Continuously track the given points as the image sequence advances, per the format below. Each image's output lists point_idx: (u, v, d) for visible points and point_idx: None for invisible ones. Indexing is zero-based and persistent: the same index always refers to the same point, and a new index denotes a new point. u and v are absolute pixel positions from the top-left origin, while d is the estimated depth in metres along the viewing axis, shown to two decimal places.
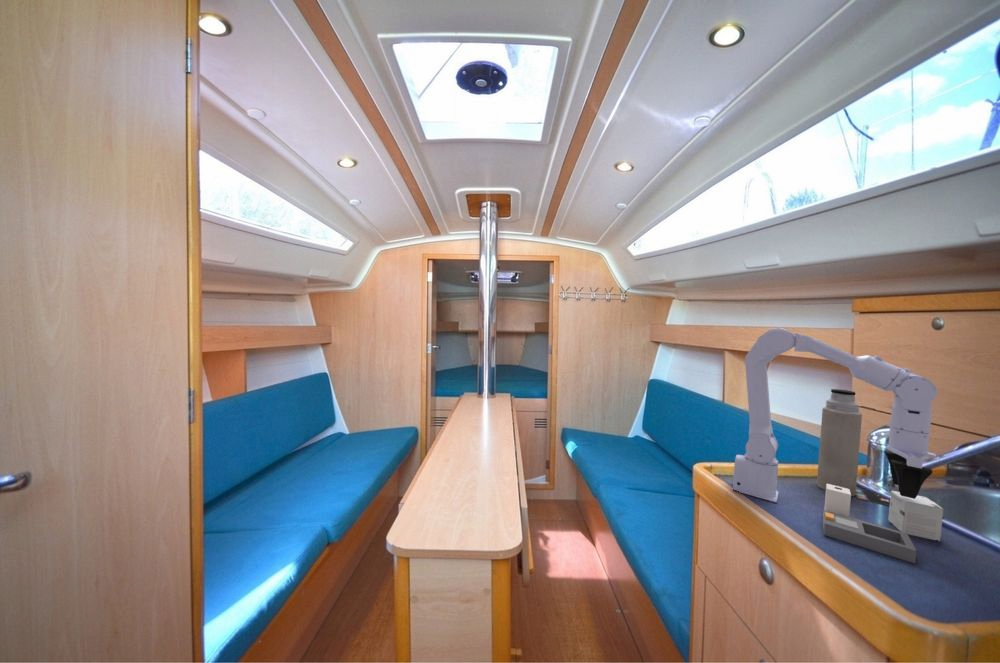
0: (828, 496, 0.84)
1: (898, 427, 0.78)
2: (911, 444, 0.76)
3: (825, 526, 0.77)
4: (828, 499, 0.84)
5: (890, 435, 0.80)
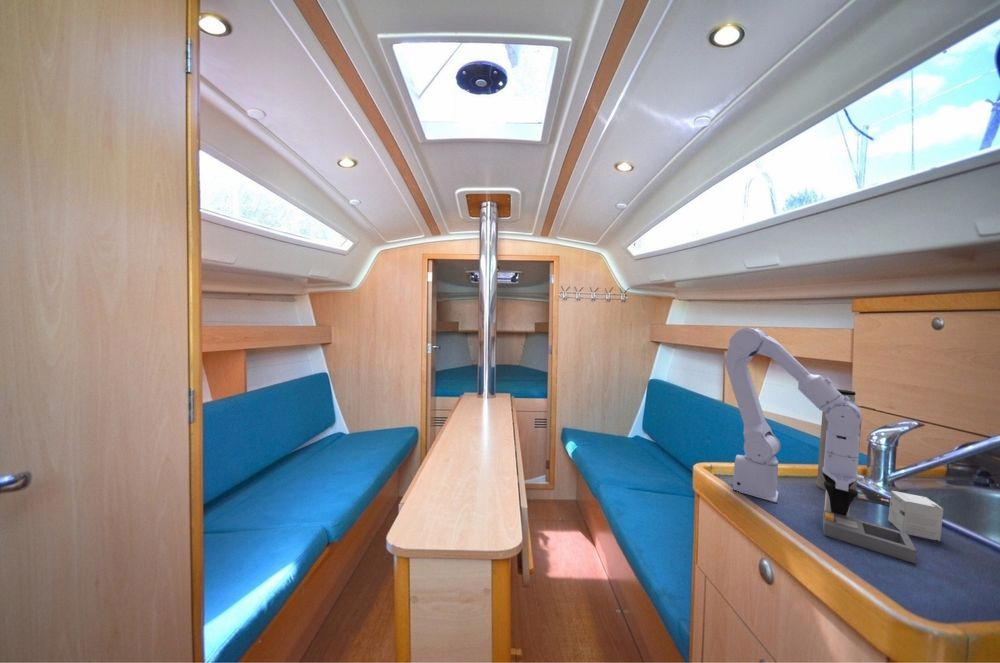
0: (828, 496, 0.84)
1: (829, 451, 0.84)
2: (841, 467, 0.82)
3: (825, 526, 0.77)
4: (828, 499, 0.84)
5: (824, 458, 0.85)
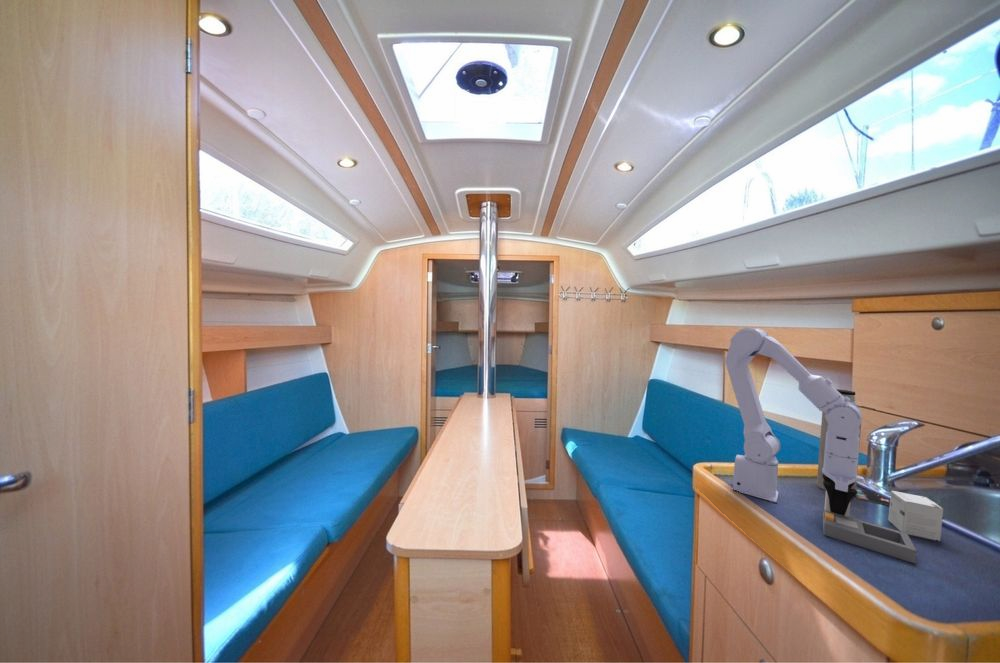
0: None
1: (829, 451, 0.84)
2: (841, 468, 0.82)
3: (825, 526, 0.77)
4: (828, 499, 0.84)
5: (824, 459, 0.85)
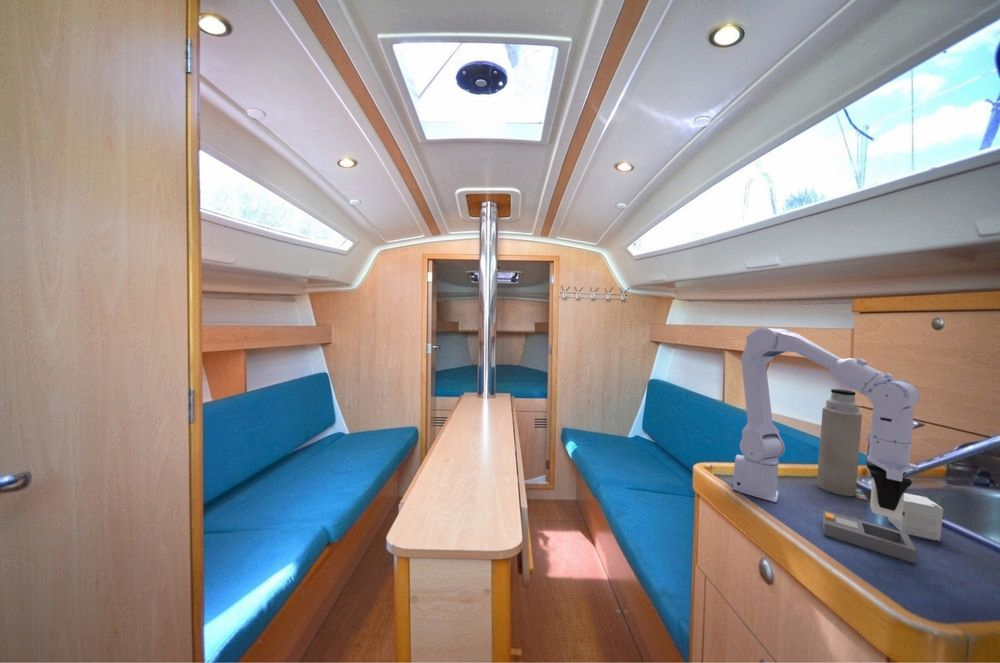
0: None
1: (873, 435, 0.74)
2: (891, 454, 0.71)
3: (825, 526, 0.77)
4: None
5: (870, 445, 0.75)
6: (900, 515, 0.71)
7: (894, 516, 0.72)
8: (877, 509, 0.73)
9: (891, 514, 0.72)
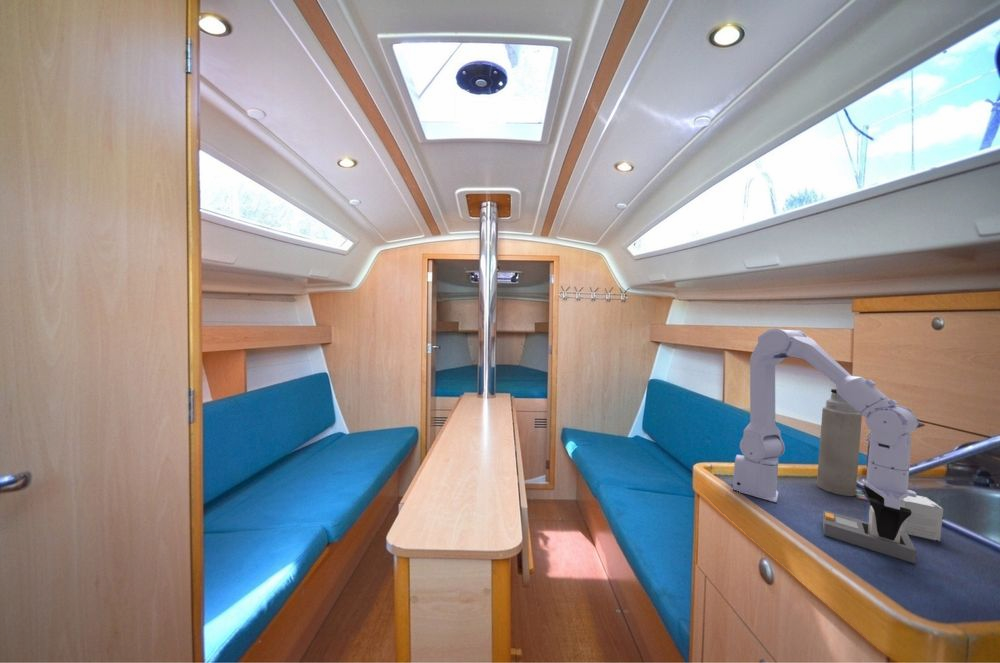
0: (874, 521, 0.73)
1: (870, 460, 0.74)
2: (889, 481, 0.71)
3: (825, 526, 0.77)
4: (874, 524, 0.73)
5: (868, 470, 0.75)
6: None
7: None
8: None
9: None
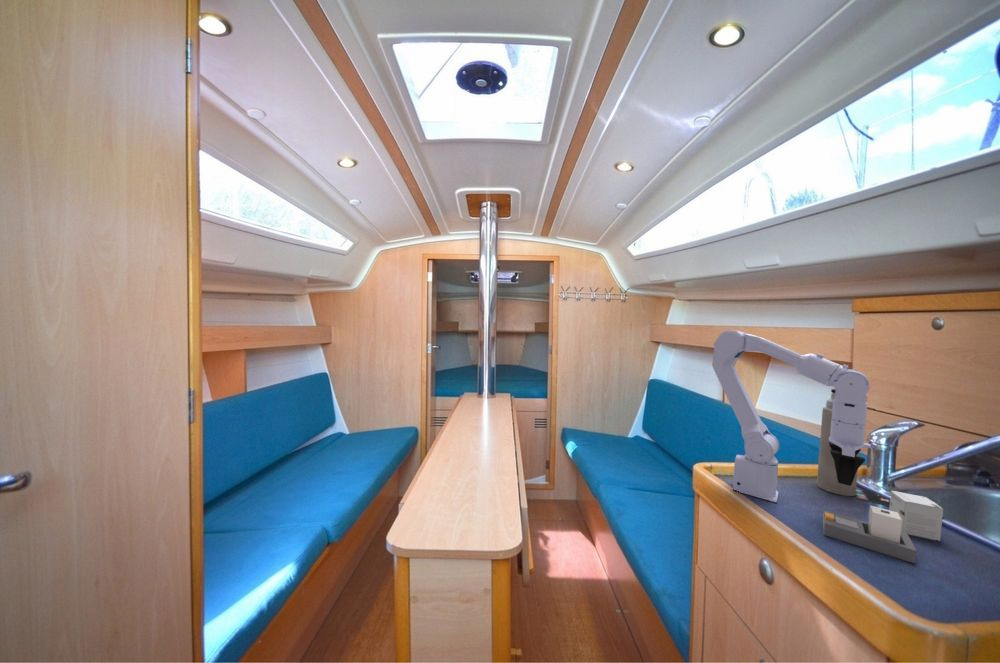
0: (874, 521, 0.73)
1: (836, 419, 0.84)
2: (848, 435, 0.82)
3: (825, 526, 0.77)
4: (874, 524, 0.73)
5: (831, 427, 0.85)
6: None
7: None
8: None
9: None
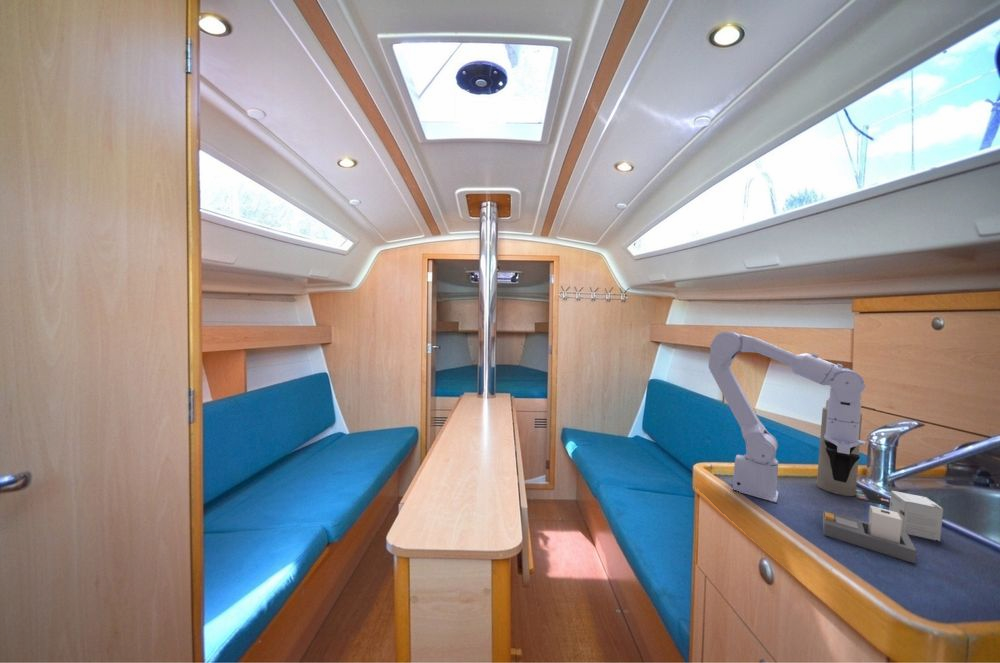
0: (874, 521, 0.73)
1: (832, 417, 0.85)
2: (843, 432, 0.83)
3: (825, 526, 0.77)
4: (874, 524, 0.73)
5: (826, 425, 0.87)
6: None
7: None
8: None
9: None
